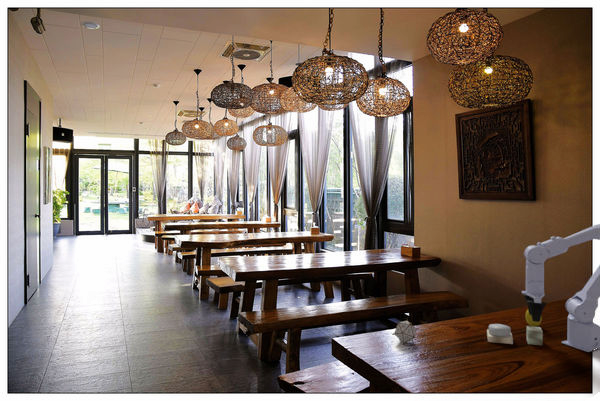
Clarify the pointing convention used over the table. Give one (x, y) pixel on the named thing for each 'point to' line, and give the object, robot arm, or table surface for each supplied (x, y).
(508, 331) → the grey puck
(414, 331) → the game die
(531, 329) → the sage cube
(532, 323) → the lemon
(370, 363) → the table surface
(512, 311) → the table surface
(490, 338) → the birch slab
